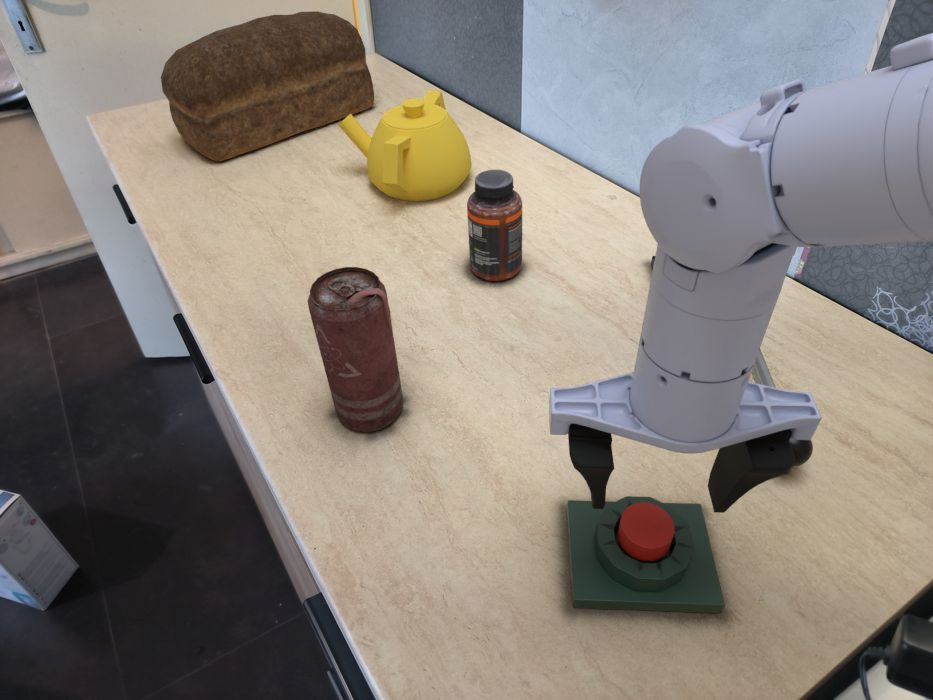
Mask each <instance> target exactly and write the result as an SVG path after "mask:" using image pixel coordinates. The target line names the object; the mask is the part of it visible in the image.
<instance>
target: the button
mask: <svg viewBox="0 0 933 700" xmlns="http://www.w3.org/2000/svg"><path fill="white" fill-rule="evenodd" d="M674 530H675V528H674V523H673V521H672V519H671V517H670V516H669V514H668V513H667V512H666V511H665V510H663V509H662V508H660V507H658V506H656V505H654V504H651V503H636V504H633V505H631V506H629V507H628V508H626V509H625V511H624V512H623V514H622V516H621V520H620V525H619V529H618V540H619V543H620V545H621V547H622V548H623V550H624V551H625V552H626V553H627V554H629V555H630V556H631V557H633V558H635V559H638V560H641V561H656V560H659V559H661V558H662V557H664V556H665V555H666V554H667V552H668V551H669V548H670V545H671V542H672V539H673V536H674Z"/></svg>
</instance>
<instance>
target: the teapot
mask: <svg viewBox="0 0 933 700" xmlns="http://www.w3.org/2000/svg"><path fill="white" fill-rule="evenodd" d="M337 126H338V127H339V129H341V130H342V132H343V133H344V134H345V135H346V136H347V137H348V138H349V139H350V141H351V142H352V143H353V144H354V146H356V147H357V148H358V150H359V151H360V152H361V153H362V154H363V156H364V157H365V158H366V172H367V176H368V178H369V181H371V183H372V184H373V185H374V186H375V187H376V188H378V190H380V191H381V192H382V193H384V194H385V195H386V196H389V197H391V198H392V199H393V198H394V199H395V200H396V199H397V200H400V201H401V200H402V201H406V202H407V201H408V202H425V201H430V200H436V199H439V198H440V199H441V198H442V197H446V196H448V195H450V194H451V193H453V192H454V191H456V190H457V189H458V188H459V187H460V186H461V185H462V184H463V182H464V181H465V180H466V179H467V178H468V176H469V174H470V172H471V170H472V156H471V150H470V148H469V145H468V142H467V139H466V138H465V135H464V133H463V132H462V130H461V129H460V127H459V125H458V124H457V123H456V121H455V120H454V119H453V117H452V116H451V114H450V113H449V112H447V110H446V105H445V100H444V96H443V92H442V91H441V90H431V89H429V90H428V91H427V92H426V94H425V95H424V97H423V99H422V98H419V97H418V98H417V97H412V98H407V99H405V100H403V101H402V103H401V104H399V105H396V106H394V107H391V108H390V109H388V110H386V112H385V113H383V115H382V116H381V118H380V119H379V122H378V123H377V125H376V127H375V130H374V132H373V133H372V136H370V134H369V133H368V132H367V131H366V129H364V127H363V126H362V125H361V124H360V122H359V121H358V120H357V119H356V118H355V117H354V115H351V114H350V115H348V116H347V117H344V118H343V120H341V121H340V122H339V123H338V124H337Z"/></svg>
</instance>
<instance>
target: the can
mask: <svg viewBox="0 0 933 700" xmlns="http://www.w3.org/2000/svg"><path fill="white" fill-rule="evenodd" d="M307 306H308V307H307V308H308V311H309V314H310V319H311V322H312V326H313V330H314V334H315V338H316V341H317V345H318V350H319V353H320V357H321V360H322V363H323V364H322V365H323V369H324V373H325V376H326V379H327V384H328V386H329V391H330V394H331V395H330V396H331V399H332V403H333V406H334V410H335V414H336V417H337V418H338V420H339V421H340V422H341V423H342V424H343V425H344V426H346V427H347V428H349V429H350V430H352V431H353V430H354V431H357V432H361V433H366V432H368V433H369V432H370V433H371V432H376V431H380V430H383V429H384V428H386V427H388V426H390V425H391V424H392V423H393V422H394V421H396V420H397V418H398V417H399V415H400V414H401V412H402V410H403V405H404V396H403V389H402V383H401V382H402V381H401V377H400V370H399V363H398V356H397V350H396V344H395V343H396V342H395V337H394V332H393V324H392V317H391V309H390V305H389V298H388V292H387V288H386V286H385V284H384V283H383V282H382V280H380V278H379V276H378V275H377V274H376V273H375V272H374V271H372V270H369V269H367V268H364V267H360V266H359V267H358V266H344V267H339V268H335V269H332V270H329V271H326V272H325V273H323V274H322V275H320V276H319V277H317V278H316V279H315V280H314V281H313V283H312V284H311V286H310V290H309V295H308V298H307Z"/></svg>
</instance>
